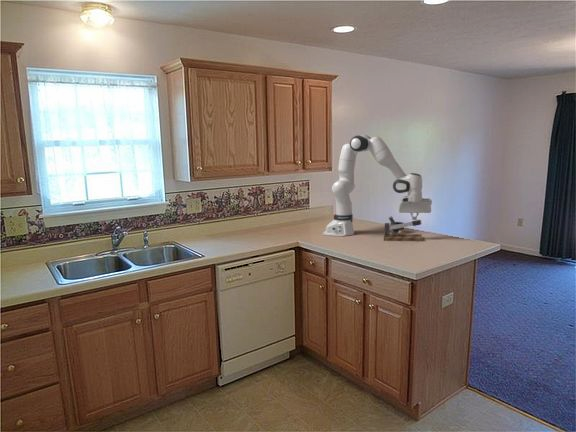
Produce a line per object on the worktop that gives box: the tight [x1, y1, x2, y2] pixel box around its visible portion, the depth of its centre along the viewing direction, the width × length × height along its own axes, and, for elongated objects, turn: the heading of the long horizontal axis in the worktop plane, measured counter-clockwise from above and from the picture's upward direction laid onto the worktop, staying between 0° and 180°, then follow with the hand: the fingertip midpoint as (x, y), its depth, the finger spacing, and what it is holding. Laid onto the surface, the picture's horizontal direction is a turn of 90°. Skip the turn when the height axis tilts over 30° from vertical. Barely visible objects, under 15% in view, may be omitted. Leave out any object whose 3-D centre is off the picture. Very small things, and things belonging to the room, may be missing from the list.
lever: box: [389, 219, 422, 231], centre depth 270 cm, size 21×4×3 cm, turn 75°
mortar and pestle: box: [388, 216, 405, 234], centre depth 290 cm, size 11×9×12 cm
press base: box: [383, 222, 423, 242], centre depth 271 cm, size 24×12×10 cm, turn 76°
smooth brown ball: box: [398, 229, 406, 236], centre depth 271 cm, size 4×4×4 cm
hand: (414, 219), depth 268 cm, fingers closed
